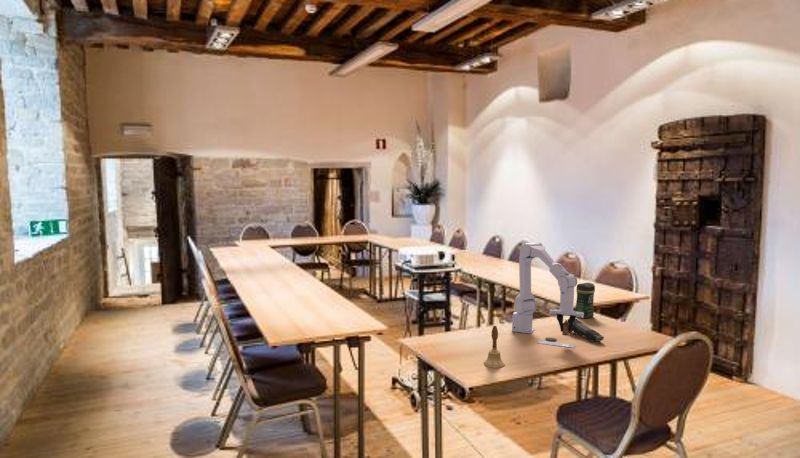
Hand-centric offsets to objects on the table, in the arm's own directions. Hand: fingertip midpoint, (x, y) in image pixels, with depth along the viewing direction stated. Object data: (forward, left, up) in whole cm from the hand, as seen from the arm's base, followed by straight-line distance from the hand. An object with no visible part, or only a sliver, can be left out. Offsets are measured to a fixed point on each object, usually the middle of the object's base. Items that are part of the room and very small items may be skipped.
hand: (565, 331), depth 236 cm
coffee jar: (+3, +55, -7) cm, 56 cm away
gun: (+6, +17, -7) cm, 19 cm away
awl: (0, 0, -1) cm, 1 cm away
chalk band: (-4, 0, -6) cm, 8 cm away
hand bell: (-23, -37, -7) cm, 44 cm away
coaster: (-7, +6, -6) cm, 11 cm away
